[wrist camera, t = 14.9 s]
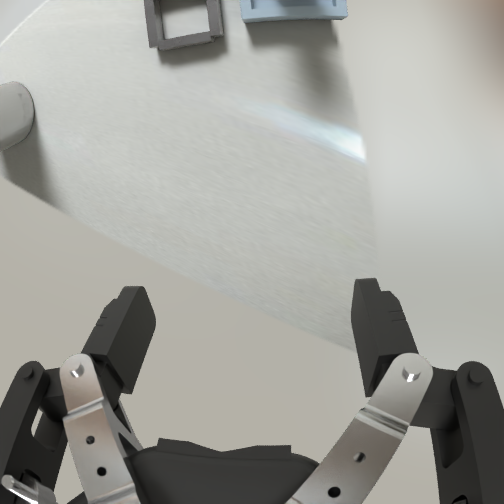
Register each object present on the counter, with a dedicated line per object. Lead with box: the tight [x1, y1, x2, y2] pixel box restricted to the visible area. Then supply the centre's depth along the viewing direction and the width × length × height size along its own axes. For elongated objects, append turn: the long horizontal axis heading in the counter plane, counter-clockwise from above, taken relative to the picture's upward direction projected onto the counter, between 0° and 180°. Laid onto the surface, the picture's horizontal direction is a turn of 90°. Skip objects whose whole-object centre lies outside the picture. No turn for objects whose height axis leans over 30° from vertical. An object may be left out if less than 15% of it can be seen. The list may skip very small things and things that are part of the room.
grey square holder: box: [144, 0, 224, 51], centre depth 26 cm, size 7×7×2 cm
